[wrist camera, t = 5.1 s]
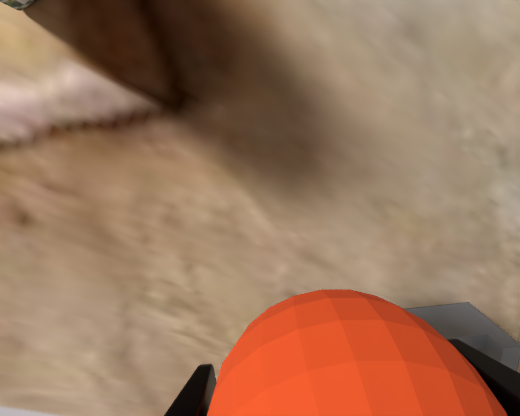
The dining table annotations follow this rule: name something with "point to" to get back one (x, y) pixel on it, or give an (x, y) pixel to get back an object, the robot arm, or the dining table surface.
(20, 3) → the syrup box
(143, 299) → the dining table surface
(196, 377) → the robot arm
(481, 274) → the dining table surface
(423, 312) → the grey shallow tray
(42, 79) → the dining table surface
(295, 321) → the clementine
